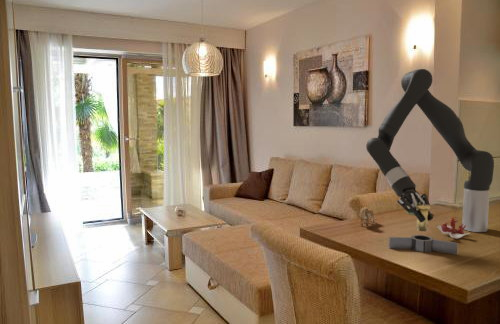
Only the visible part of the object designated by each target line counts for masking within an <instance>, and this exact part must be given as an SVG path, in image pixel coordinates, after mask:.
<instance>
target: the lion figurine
mask: <svg viewBox="0 0 500 324" xmlns="http://www.w3.org/2000/svg"><path fill="white" fill-rule="evenodd" d="M358 216H359V217H358V218H359V221H360V225H359V227H363V226H364V225H363V224H365V227H366V228H369V222H370V221H371V223H372V224H373V223H375V217H374V210H373V209H371V208H368V207H366V206H365V207H362V208H361V209H360V210H359V214H358Z"/></svg>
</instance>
